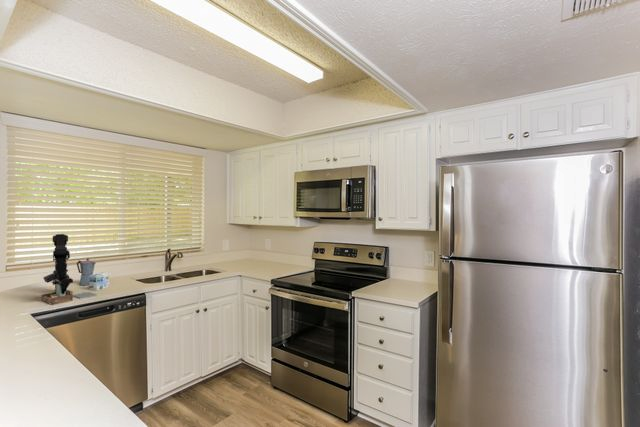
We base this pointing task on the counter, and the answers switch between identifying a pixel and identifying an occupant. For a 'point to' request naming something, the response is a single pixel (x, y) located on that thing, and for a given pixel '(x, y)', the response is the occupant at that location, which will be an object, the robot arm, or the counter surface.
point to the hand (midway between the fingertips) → (60, 293)
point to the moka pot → (86, 271)
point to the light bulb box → (99, 281)
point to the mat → (84, 295)
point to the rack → (58, 299)
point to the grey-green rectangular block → (59, 291)
